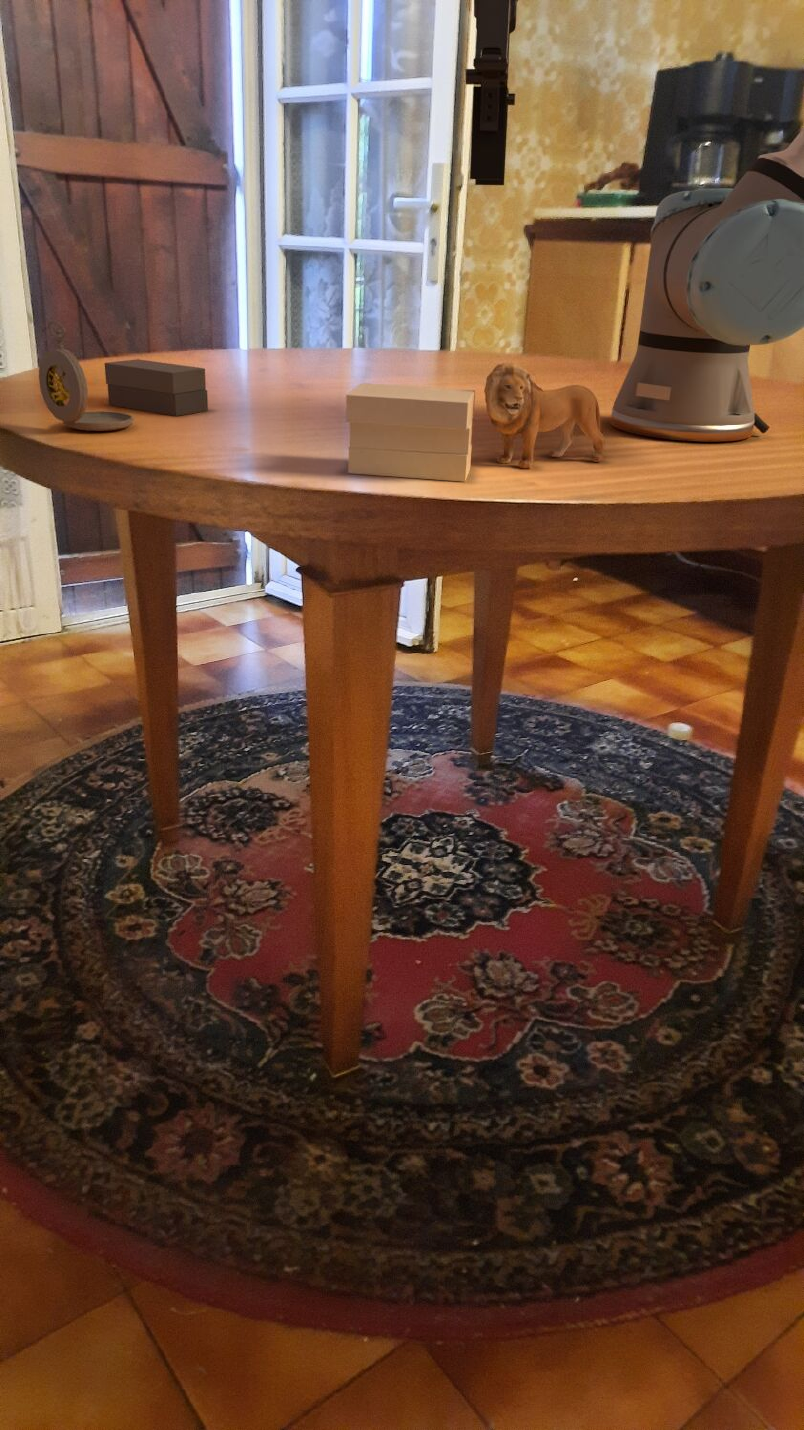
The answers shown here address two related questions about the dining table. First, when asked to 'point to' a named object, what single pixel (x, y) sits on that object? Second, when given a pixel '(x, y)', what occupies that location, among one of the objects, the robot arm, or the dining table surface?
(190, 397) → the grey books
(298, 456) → the dining table surface
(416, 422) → the beige flat block
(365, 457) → the beige cardboard block
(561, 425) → the lion figurine
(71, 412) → the pocket watch
